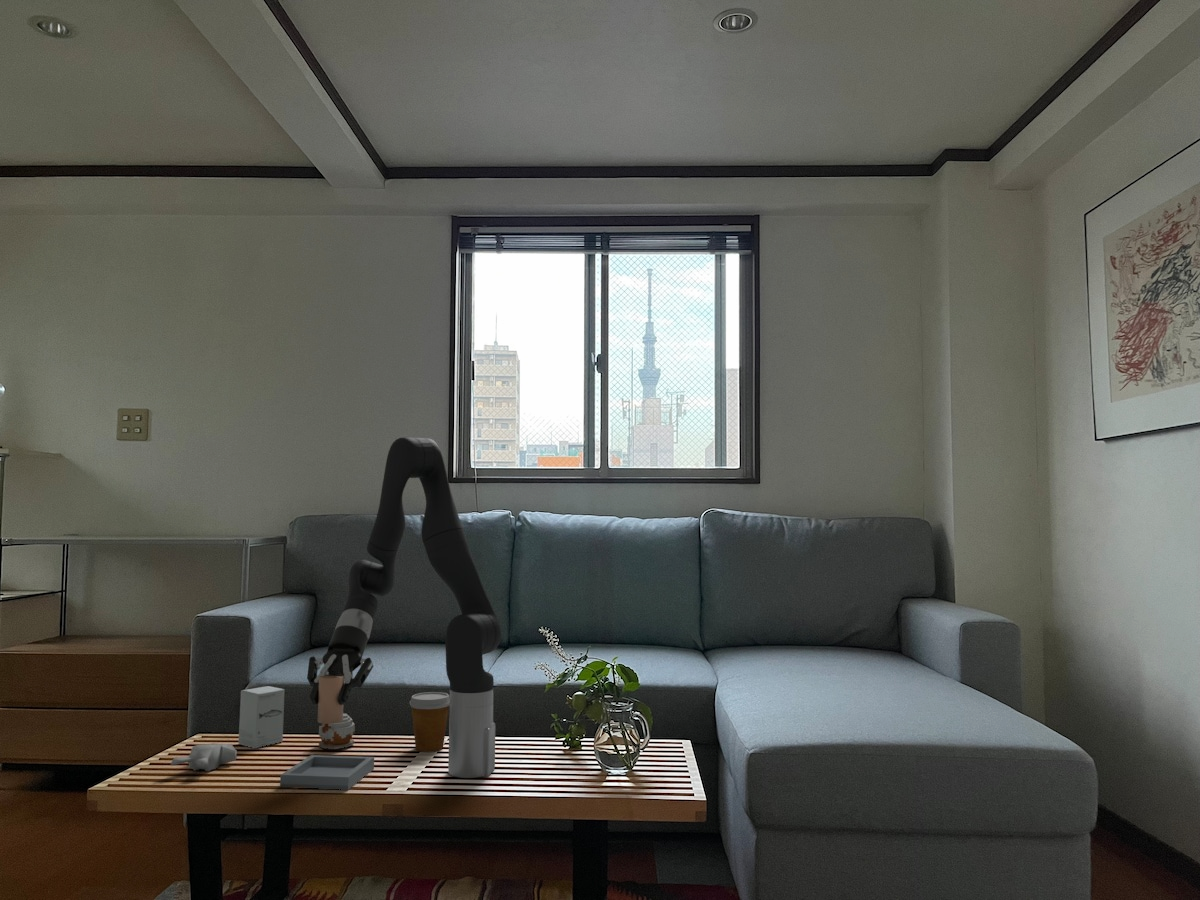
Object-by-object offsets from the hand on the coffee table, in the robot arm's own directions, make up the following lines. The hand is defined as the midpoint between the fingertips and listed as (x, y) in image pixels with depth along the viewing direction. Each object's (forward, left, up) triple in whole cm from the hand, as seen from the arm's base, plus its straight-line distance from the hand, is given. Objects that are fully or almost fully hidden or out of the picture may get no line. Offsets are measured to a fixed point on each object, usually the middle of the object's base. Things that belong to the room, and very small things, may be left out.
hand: (327, 702), depth 171 cm
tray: (0, -2, -16) cm, 16 cm away
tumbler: (0, -2, -4) cm, 5 cm away
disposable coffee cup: (-14, -26, -16) cm, 33 cm away
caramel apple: (+8, -25, -16) cm, 31 cm away
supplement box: (+27, -26, -16) cm, 41 cm away
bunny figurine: (+29, -6, -16) cm, 33 cm away
